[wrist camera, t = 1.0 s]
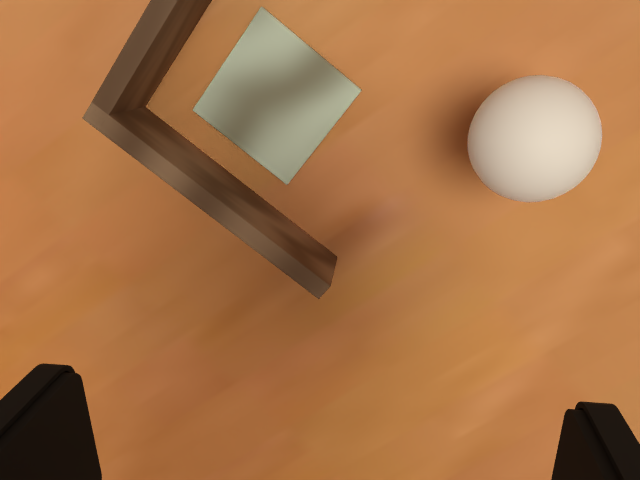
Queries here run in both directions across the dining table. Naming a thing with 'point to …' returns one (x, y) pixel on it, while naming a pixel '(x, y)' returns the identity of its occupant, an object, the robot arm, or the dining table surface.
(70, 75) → the dining table surface
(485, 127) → the lightbulb
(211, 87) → the corner fence
